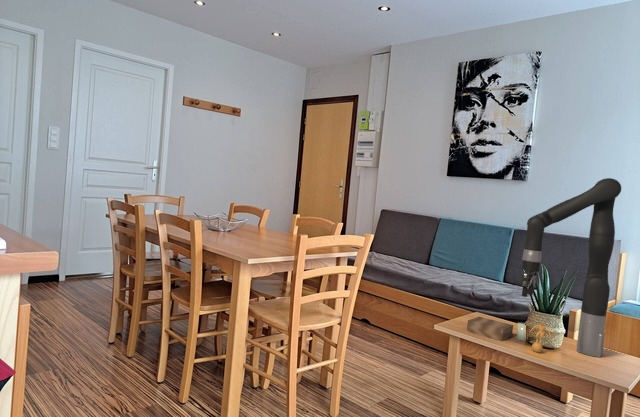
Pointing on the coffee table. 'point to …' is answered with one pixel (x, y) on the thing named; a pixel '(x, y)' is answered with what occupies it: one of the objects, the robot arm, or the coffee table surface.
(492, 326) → the walnut box
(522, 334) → the sage canister
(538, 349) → the figurine
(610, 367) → the coffee table surface
